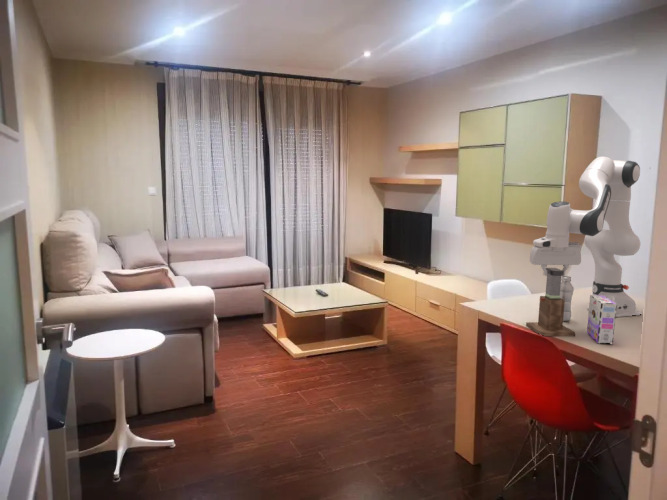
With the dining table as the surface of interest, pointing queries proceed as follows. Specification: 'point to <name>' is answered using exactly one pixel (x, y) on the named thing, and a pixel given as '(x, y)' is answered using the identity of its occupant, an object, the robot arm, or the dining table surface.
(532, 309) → the dining table surface
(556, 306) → the stand
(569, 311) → the plastic bottle
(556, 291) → the column
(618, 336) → the dining table surface
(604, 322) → the candy box
